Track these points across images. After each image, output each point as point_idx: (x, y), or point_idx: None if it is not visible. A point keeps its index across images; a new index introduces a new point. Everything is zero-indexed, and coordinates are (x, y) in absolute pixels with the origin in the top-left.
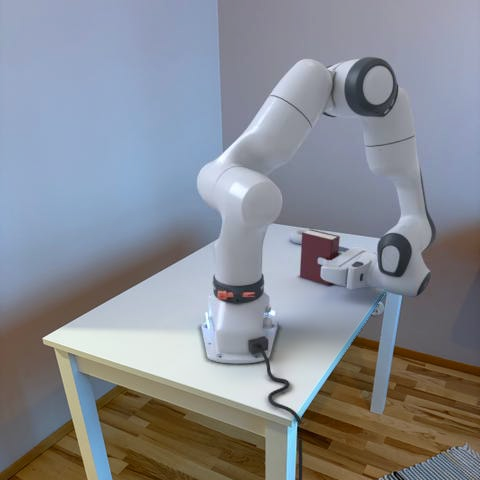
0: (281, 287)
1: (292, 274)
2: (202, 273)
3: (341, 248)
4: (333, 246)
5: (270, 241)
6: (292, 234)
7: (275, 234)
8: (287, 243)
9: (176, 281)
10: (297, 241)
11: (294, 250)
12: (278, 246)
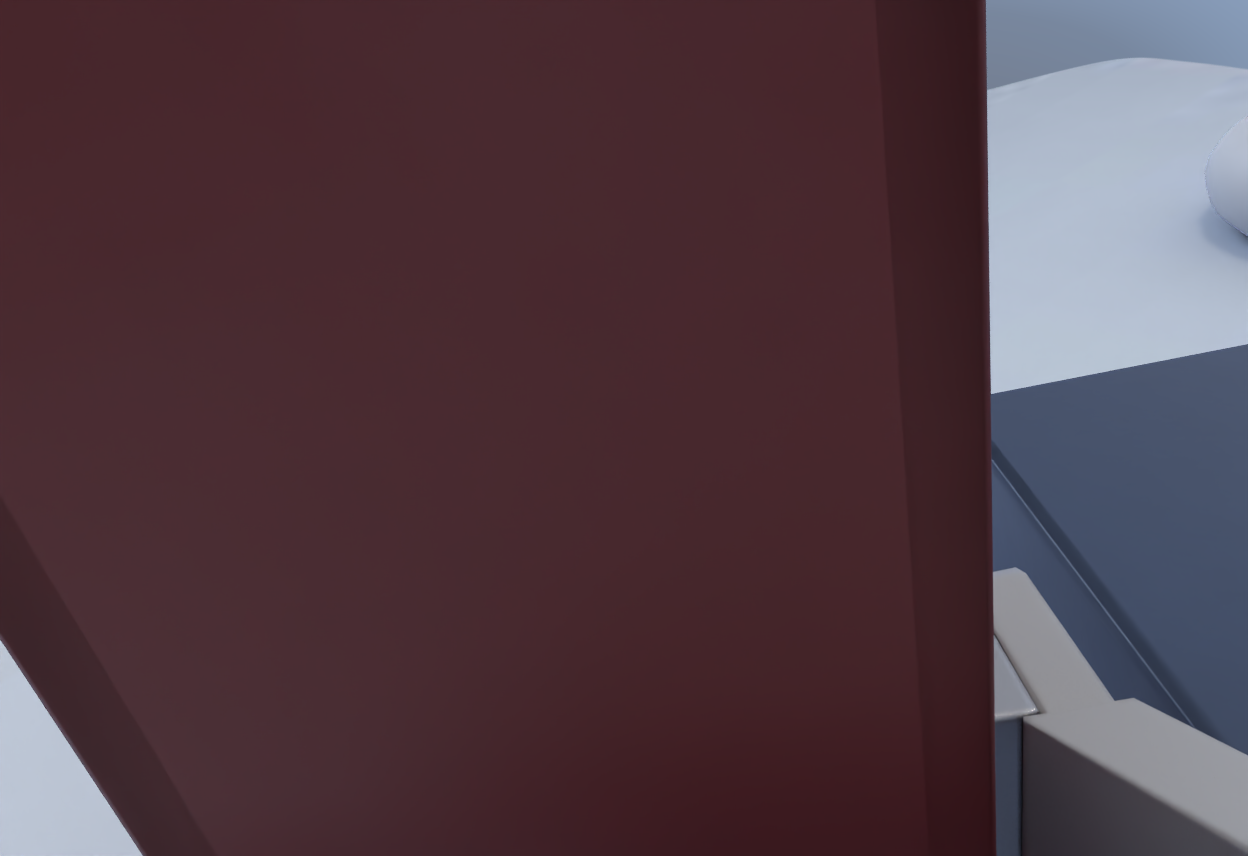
0: (114, 830)
1: None
2: None
3: None
4: (168, 559)
5: (1024, 192)
6: (1229, 134)
7: (1159, 140)
8: (1154, 225)
9: None
10: (1244, 214)
11: (1122, 309)
12: (1021, 243)
